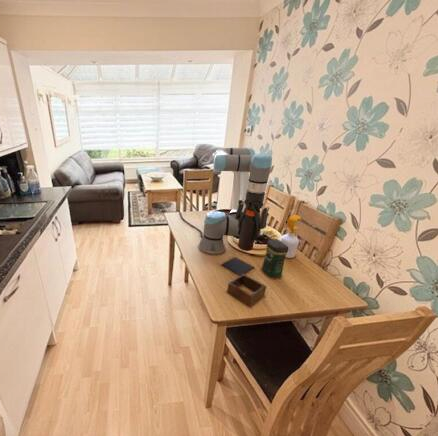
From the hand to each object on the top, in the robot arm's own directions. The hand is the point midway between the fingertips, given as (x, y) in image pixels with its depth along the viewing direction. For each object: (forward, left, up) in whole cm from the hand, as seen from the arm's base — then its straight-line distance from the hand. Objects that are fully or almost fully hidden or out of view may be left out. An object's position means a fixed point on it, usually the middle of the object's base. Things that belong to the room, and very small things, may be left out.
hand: (247, 236), depth 114 cm
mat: (-5, +6, -23) cm, 24 cm away
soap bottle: (+5, +40, -23) cm, 46 cm away
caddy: (+10, -10, -23) cm, 27 cm away
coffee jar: (+9, +15, -23) cm, 28 cm away
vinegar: (0, 0, -6) cm, 6 cm away
